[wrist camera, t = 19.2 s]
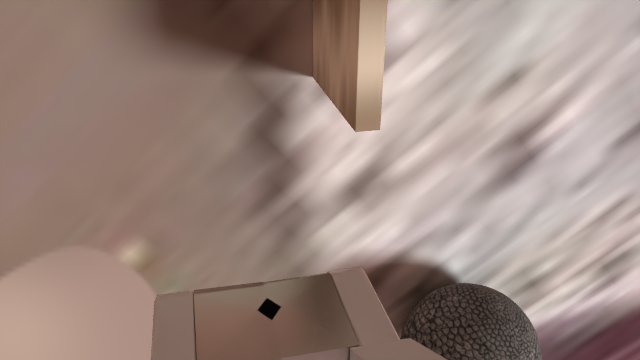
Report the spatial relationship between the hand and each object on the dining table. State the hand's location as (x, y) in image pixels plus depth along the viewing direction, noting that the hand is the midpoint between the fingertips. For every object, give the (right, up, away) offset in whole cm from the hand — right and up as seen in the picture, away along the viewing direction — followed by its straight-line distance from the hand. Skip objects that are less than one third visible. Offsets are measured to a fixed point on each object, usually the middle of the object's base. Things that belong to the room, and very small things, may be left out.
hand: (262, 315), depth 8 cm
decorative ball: (+11, -8, +36) cm, 39 cm away
